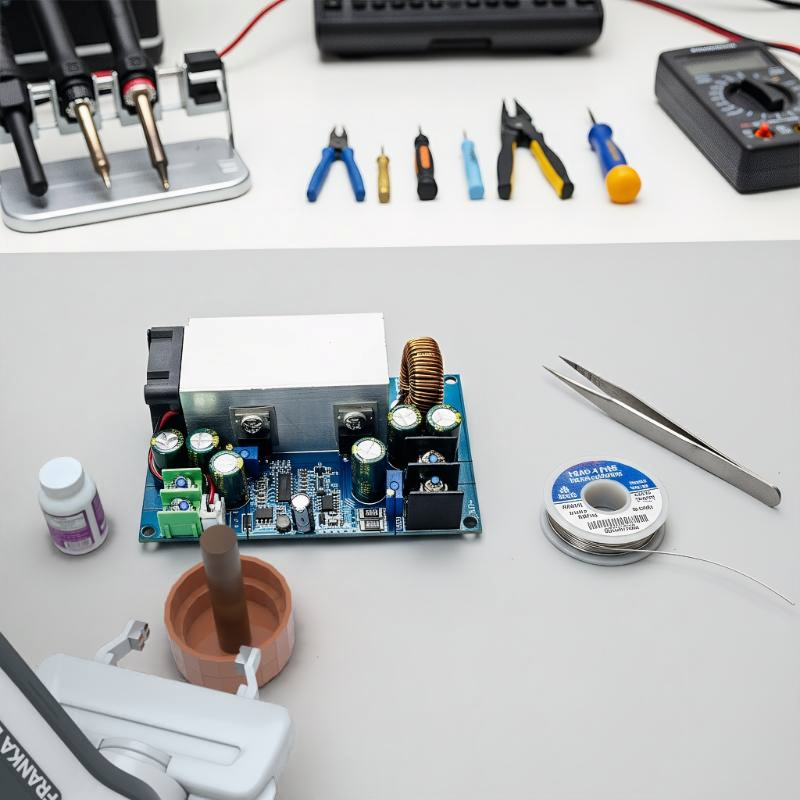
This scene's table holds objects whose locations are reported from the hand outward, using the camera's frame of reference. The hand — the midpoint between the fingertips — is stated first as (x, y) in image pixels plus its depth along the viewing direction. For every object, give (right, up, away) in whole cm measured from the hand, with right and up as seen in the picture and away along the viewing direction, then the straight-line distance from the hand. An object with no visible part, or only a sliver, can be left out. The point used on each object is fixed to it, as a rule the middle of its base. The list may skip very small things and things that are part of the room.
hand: (195, 637), depth 79 cm
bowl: (+1, -3, +12) cm, 12 cm away
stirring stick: (+1, -3, +11) cm, 12 cm away
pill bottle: (-16, +5, +20) cm, 26 cm away
